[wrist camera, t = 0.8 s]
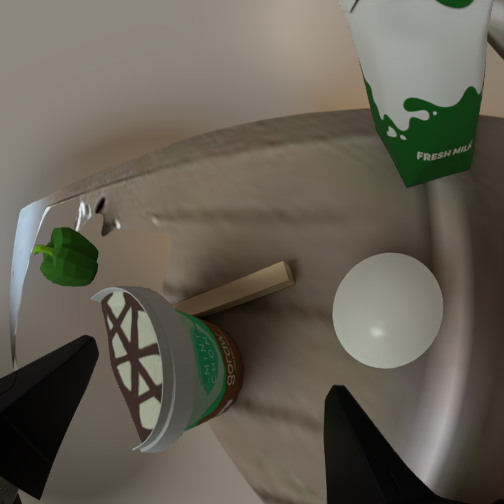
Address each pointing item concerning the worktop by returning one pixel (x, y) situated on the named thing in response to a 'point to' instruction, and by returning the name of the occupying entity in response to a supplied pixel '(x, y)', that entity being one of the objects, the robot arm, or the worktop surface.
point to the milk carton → (423, 78)
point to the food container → (167, 364)
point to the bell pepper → (68, 258)
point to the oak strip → (238, 291)
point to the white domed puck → (388, 310)
